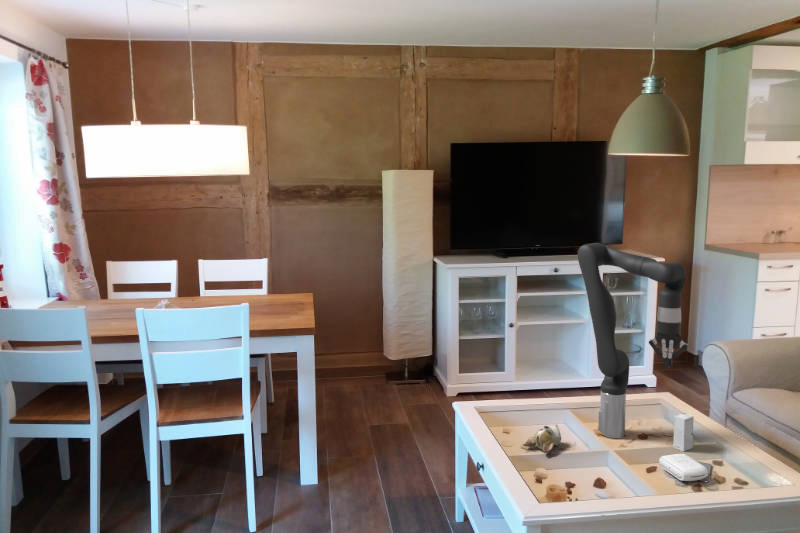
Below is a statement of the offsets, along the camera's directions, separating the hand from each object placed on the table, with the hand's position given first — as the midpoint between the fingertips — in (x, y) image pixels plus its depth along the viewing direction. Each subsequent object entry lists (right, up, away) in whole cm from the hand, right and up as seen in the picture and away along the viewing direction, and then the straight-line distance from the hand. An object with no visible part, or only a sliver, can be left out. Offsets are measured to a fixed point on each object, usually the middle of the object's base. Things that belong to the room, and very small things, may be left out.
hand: (667, 368), depth 204 cm
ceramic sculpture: (-40, -32, +11) cm, 52 cm away
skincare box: (+10, -31, +9) cm, 34 cm away
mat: (+5, -33, -8) cm, 34 cm away
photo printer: (-2, -30, -6) cm, 31 cm away
